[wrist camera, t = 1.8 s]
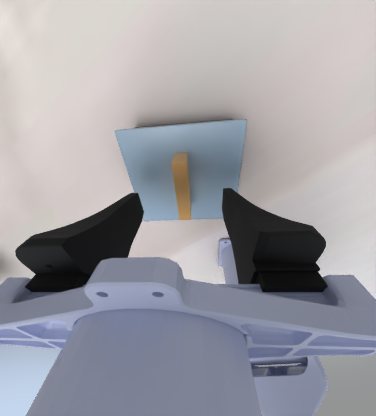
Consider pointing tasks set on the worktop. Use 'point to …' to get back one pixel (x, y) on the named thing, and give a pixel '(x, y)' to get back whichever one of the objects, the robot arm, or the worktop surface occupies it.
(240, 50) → the worktop surface
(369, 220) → the worktop surface
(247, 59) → the worktop surface
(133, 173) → the lid
